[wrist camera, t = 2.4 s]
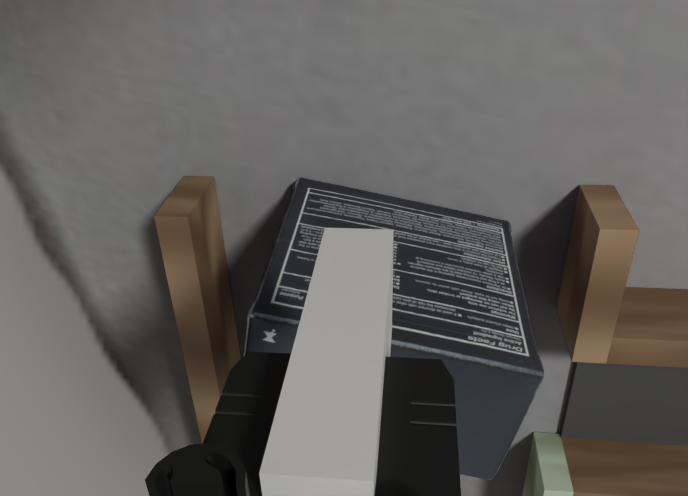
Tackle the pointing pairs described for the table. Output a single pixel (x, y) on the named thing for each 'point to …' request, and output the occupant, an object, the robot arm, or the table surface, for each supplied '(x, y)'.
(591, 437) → the mat
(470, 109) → the table surface
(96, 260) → the table surface
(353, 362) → the robot arm
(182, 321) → the wooden frame pieces
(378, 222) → the small box
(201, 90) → the table surface
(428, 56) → the table surface
